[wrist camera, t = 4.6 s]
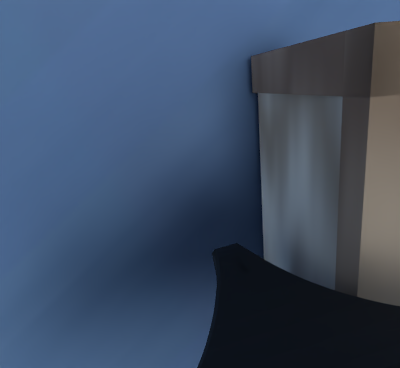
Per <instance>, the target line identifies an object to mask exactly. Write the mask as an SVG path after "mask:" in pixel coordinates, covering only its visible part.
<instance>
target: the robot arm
mask: <svg viewBox="0 0 400 368" xmlns="http://www.w3.org/2000/svg"><path fill="white" fill-rule="evenodd" d="M212 256H213V261H214V266H215V270H216V275H217V289H216V300H215V308H214V314H213V319H212V323H211V328H210V331H209V335H208V339H207V342H206V346H205V349H204V352H203V355H202V357H201V360H200V362H199V365H198V368H400V306H396V305H391V304H385V303H381V302H376V301H372V300H368V299H364V298H360V297H356V296H353V295H349V294H345V293H342V292H339V291H335V290H332V289H329V288H327V287H324V286H321V285H318V284H316V283H313V282H310V281H308V280H305V279H303V278H301V277H298V276H296V275H294V274H292V273H290V272H287V271H285V270H283V269H281V268H279V267H277V266H275V265H274V264H272V263H270V262H268V261H266V260H264V259H263V258H261V257H259V256H257V255H256V254H254V253H252V252H251V251H249V250H247V249H246V248H244V247H243V246H241V245H239V244H237V243H236V244H232V245H228V246H225V247H221V248H218V249H214V251H213V252H212Z"/></svg>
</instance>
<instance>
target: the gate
mask: <svg viewBox="0 0 400 368" xmlns="http://www.w3.org/2000/svg"><path fill="white" fill-rule="evenodd" d="M251 67H252V91H253V93H258V107H259V135H260V162H261V190H262V218H263V246H264V260H266V261H268V262H270V263H272V264H274V265H275V266H277V267H279V268H281V269H283V270H285V271H287V272H290V273H292V274H294V275H296V276H298V277H301V278H303V279H305V280H308V281H310V282H313V283H316V284H318V285H321V286H324V287H327V288H329V289H332V290H335V291H339V292H342V293H345V294H349V295H353V296H356V297H360V298H364V299H368V300H372V301H376V302H381V303H385V304H391V305H396V306H400V21H393V22H379V23H373V24H369V25H365V26H361V27H358V28H354V29H350V30H347V31H343V32H339V33H336V34H332V35H328V36H324V37H321V38H317V39H313V40H310V41H306V42H302V43H298V44H295V45H291V46H287V47H284V48H280V49H276V50H272V51H269V52H265V53H261V54H258V55H254V56H251Z"/></svg>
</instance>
